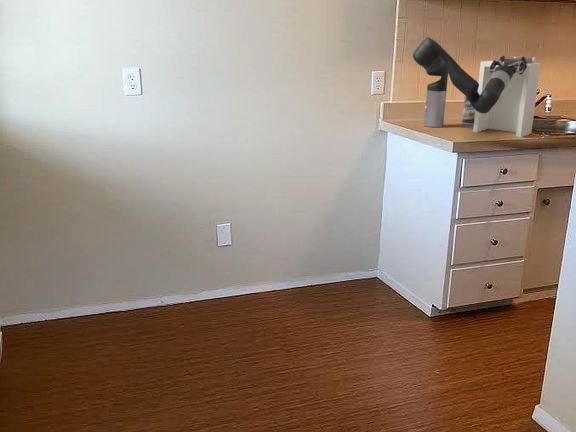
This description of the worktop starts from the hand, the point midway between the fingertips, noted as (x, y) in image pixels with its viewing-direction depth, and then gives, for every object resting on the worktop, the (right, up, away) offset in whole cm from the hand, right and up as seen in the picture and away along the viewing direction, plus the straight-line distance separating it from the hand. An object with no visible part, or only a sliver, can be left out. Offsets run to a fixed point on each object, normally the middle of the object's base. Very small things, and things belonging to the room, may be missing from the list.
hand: (513, 57), depth 269 cm
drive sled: (+4, -1, +6) cm, 8 cm away
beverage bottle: (-5, -22, +47) cm, 52 cm away
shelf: (+3, -29, +23) cm, 37 cm away
